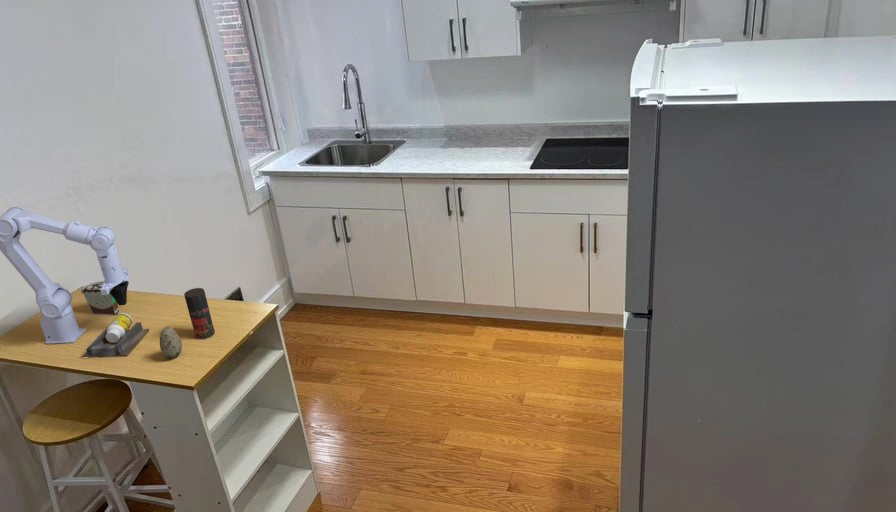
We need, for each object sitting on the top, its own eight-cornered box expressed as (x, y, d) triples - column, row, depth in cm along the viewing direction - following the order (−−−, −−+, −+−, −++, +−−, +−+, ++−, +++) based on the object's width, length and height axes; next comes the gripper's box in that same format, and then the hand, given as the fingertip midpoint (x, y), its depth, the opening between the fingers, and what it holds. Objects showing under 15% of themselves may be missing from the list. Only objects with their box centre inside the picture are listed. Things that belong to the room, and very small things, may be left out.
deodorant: (191, 335, 208) (180, 293, 202) (209, 327, 212) (198, 286, 206) (201, 341, 205) (189, 298, 198) (218, 333, 209) (207, 291, 202)
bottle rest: (82, 358, 201) (79, 349, 199) (107, 332, 214) (104, 323, 213) (127, 356, 200) (124, 347, 198) (149, 330, 213) (146, 322, 212)
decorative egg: (176, 348, 202) (168, 320, 198) (188, 353, 199) (180, 325, 194) (159, 358, 197) (150, 329, 193) (171, 363, 194) (163, 334, 190)
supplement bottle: (135, 324, 214) (123, 343, 206) (119, 327, 215) (107, 346, 206) (128, 311, 212) (116, 329, 203) (112, 313, 212) (99, 332, 203)
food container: (131, 306, 230) (123, 281, 225) (119, 315, 224) (110, 289, 220) (100, 305, 232) (92, 279, 228) (88, 313, 227) (79, 288, 223)
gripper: (111, 275, 199) (124, 315, 205) (134, 255, 212) (145, 293, 218) (89, 276, 199) (102, 316, 205) (112, 256, 212) (124, 294, 218)
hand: (122, 304), depth 211 cm, fingers closed
